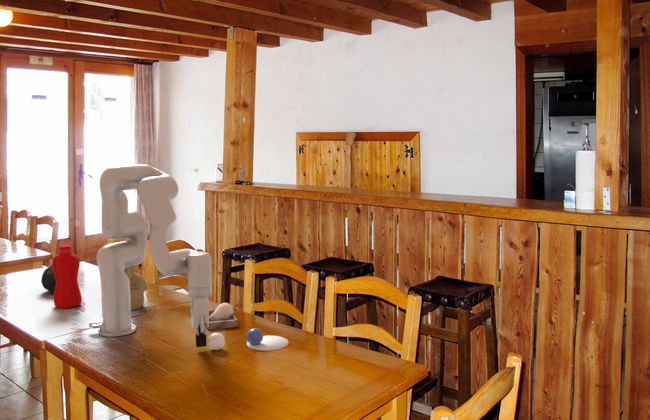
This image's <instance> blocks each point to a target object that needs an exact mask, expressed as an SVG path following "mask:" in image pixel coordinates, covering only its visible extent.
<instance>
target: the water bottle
mask: <svg viewBox="0 0 650 420" xmlns="http://www.w3.org/2000/svg"><path fill="white" fill-rule="evenodd" d="M58 249H59V250H58V251H59V253H57V254H56V255H55V256H54V257H53V258H52V263H51V265H52V268H53V271H54V274H55V277H56V287H55V292H54V294H53V304H54V306H55V307H56V308H60V309H63V310H64V309H66V310H67V309H70V308H75V307H79V306H80V305H81V304H82V293H81V289H80V285H79V283H78V275H79V270H80V265H81V264H80V259H79V256H78V255H76V254H75V253H73V252H72V246H71V245H69V244H65V245H60V246H59V247H58Z"/></svg>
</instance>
